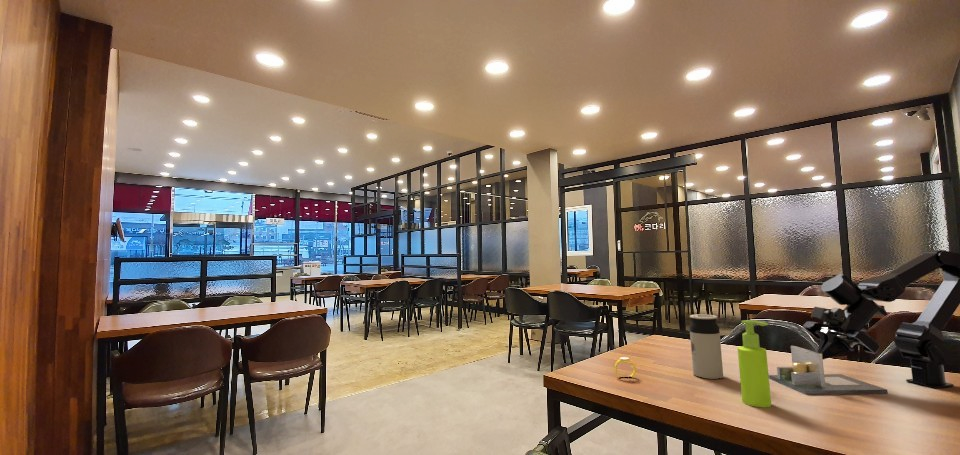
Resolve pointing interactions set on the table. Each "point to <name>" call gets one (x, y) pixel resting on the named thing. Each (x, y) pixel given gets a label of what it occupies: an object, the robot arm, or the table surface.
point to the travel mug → (706, 346)
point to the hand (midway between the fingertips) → (818, 358)
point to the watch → (625, 360)
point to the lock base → (830, 384)
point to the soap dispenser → (753, 368)
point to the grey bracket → (813, 368)
